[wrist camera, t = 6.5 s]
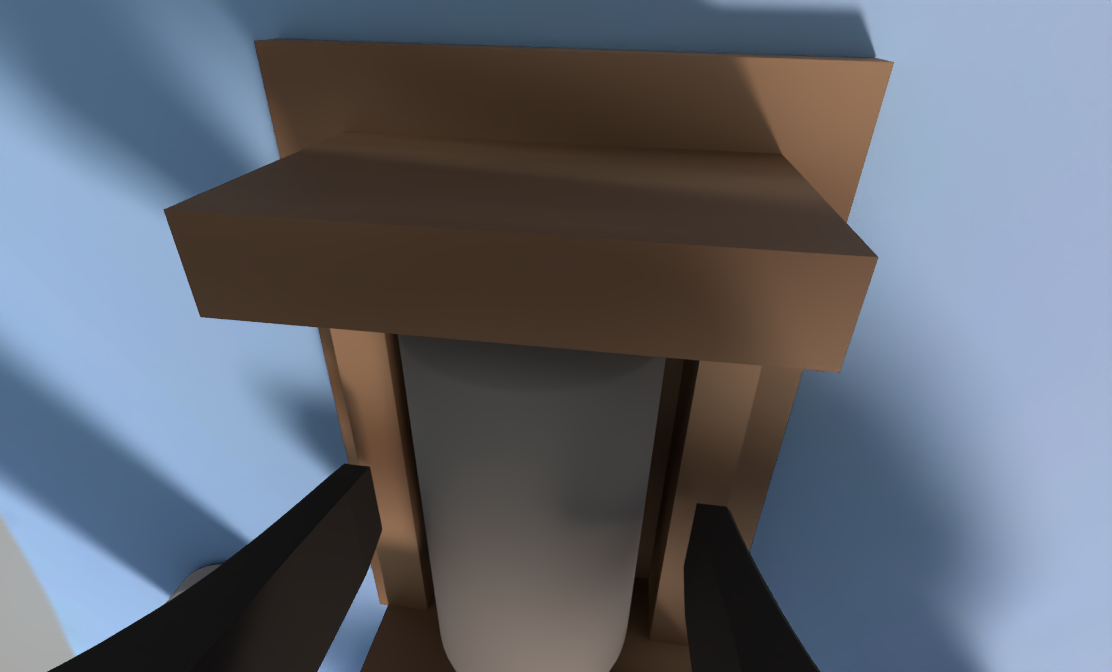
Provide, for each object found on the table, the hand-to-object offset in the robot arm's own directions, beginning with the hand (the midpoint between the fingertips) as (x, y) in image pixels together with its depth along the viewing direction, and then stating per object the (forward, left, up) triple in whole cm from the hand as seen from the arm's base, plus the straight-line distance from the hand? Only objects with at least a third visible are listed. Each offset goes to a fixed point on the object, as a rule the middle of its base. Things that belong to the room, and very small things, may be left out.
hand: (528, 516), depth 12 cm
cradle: (0, 0, -4) cm, 4 cm away
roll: (0, 0, -3) cm, 3 cm away
